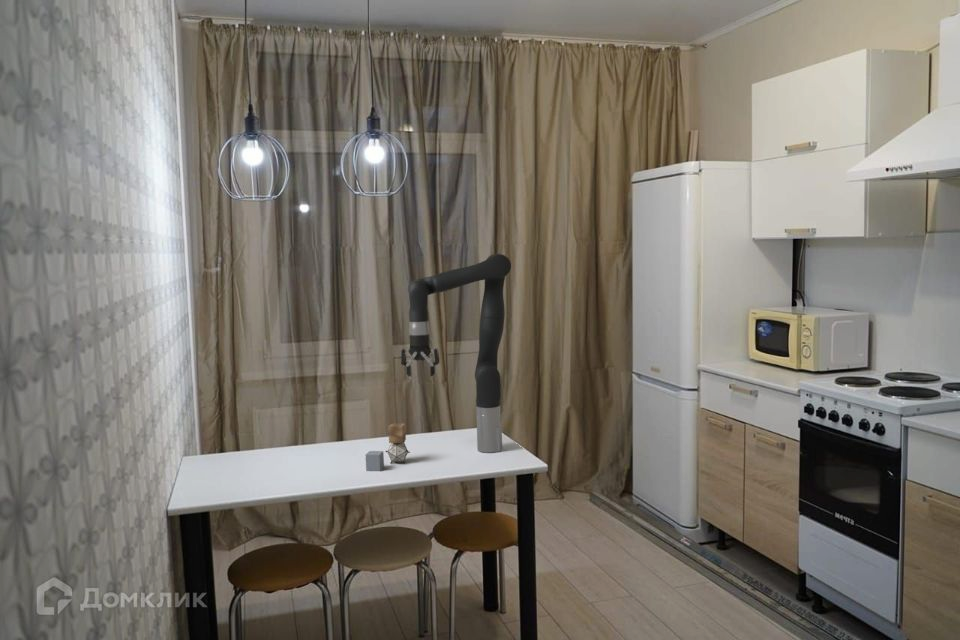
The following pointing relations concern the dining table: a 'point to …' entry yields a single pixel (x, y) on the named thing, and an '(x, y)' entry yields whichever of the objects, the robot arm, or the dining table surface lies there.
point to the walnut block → (397, 433)
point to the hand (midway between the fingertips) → (420, 376)
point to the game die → (397, 452)
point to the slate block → (374, 460)
